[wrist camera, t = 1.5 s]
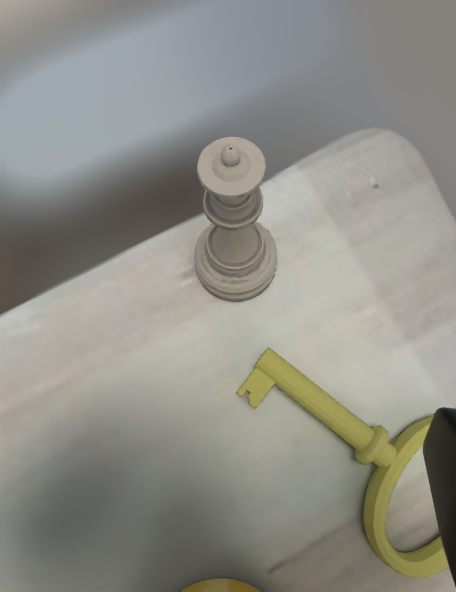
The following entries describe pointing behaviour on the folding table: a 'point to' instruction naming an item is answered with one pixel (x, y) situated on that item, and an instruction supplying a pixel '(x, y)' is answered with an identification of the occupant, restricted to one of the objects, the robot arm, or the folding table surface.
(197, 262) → the chess piece
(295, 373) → the key
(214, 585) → the flower pot
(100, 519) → the folding table surface
